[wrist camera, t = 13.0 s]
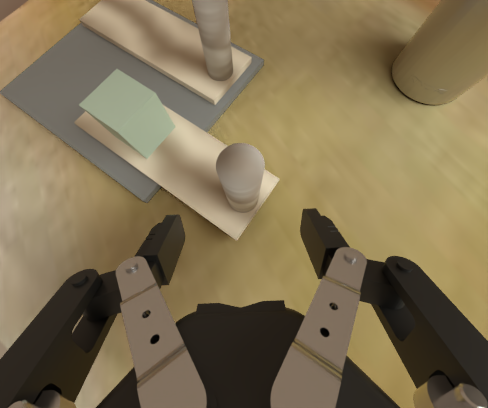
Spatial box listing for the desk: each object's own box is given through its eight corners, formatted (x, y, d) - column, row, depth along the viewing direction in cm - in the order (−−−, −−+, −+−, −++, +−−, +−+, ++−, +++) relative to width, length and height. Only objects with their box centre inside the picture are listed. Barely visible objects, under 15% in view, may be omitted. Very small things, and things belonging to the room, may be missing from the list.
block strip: (124, 82, 25) (60, -4, 17) (278, 181, 22) (298, 135, 13) (79, 126, 24) (-16, 57, 15) (236, 240, 20) (228, 233, 12)
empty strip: (121, -7, 29) (69, -114, 21) (251, 63, 26) (253, -32, 17) (83, 25, 28) (10, -75, 19) (215, 105, 24) (197, 25, 16)
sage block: (144, 106, 23) (116, 68, 18) (175, 126, 23) (155, 92, 18) (115, 136, 22) (78, 105, 18) (147, 159, 22) (117, 132, 17)
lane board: (127, -8, 31) (124, -15, 30) (263, 65, 27) (263, 59, 26) (6, 97, 26) (-2, 92, 25) (147, 203, 22) (143, 201, 21)
